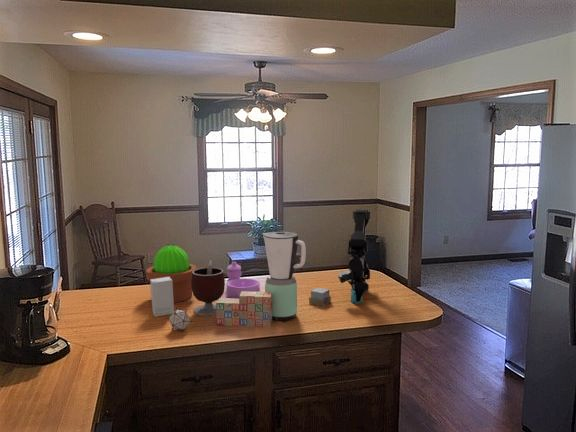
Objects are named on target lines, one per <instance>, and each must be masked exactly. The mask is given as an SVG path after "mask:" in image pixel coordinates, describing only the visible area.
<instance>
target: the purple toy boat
mask: <svg viewBox="0 0 576 432" xmlns="http://www.w3.org/2000/svg"><path fill="white" fill-rule="evenodd" d="M226 269H227V272H226V276H227V277H228V279H227V281H226V282H225V285H226V298H234V299H239V296H240V294H241V292H242V291H245V292H261V291H260V290H261V286H260V284H261V282H260V281H259V280H257V279H254V278H241V277H242V274H243V273H242V270H241V269H242V267H241V265H239V264H238V263H237V261H231V264H229V265H228V266H227V267H226Z"/></svg>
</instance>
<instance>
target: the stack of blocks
mask: <svg viewBox="0 0 576 432" xmlns="http://www.w3.org/2000/svg"><path fill="white" fill-rule="evenodd" d="M215 305H216V310H217V311H216V326H227V327H228V326H231V327H232V326H233V327H255V328H257V327H259V328H271V327H272V323H273V319H272V292H265V291H260V292H245V291H242V292H241V294H240V296H239V299H234V298H227V297H221V298H219V300H216V304H215Z"/></svg>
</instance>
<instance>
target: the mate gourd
mask: <svg viewBox="0 0 576 432" xmlns="http://www.w3.org/2000/svg"><path fill="white" fill-rule="evenodd" d="M225 281H226V279H225V274H224V270H223V269H222V268H219V267H213V260H212V259H210V260H209V262H208V265H207V267H200V268H197V269H196V270H194V271H193V272H192V279H191V287H192V296H193V297H194V298H195V299H196V301H199V302H202V303H204V304H202V305H198V306H196V307H195V308H193V312H194V314H196V315H199V316H215V315H216V311H217V310H216V304H213V303H214V302H217V301H218V300H219V298H222V297H223V295H224V292H225V285H226V282H225Z"/></svg>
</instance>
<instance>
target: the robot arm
mask: <svg viewBox="0 0 576 432" xmlns="http://www.w3.org/2000/svg"><path fill="white" fill-rule="evenodd" d="M352 219H353V220H354V221H353V222H354V230H353V231H354V232H353V233H352V234H351V235H350V239H348V247H347V248H348V249H347V255H350V259H349V261H348V267H349V268H348V270H345V271H342V272H340V273H337V277H338V279H339V282H340V284H344V283H345V282H347V283H348V284H349V285H350V286H351V289H350V291H351V290H355V293H356V300H357V302H359V301H360V299H361V297H362V298H363V295H364V293H366V292H367V291H369V288H370V287H369V286H370V285H369V284H368V282H367V281H368V280H370V279H371V270H370V267H369V266H368V262H367V261H366V259H365V258H366V257H365V256H366V255H367V253H368V247H369V242H368V240H366V232H367V231H366V229H367V227H368V226H369V224H370V220H371V219H372V212H371V211H369V209H355V211H352Z"/></svg>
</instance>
